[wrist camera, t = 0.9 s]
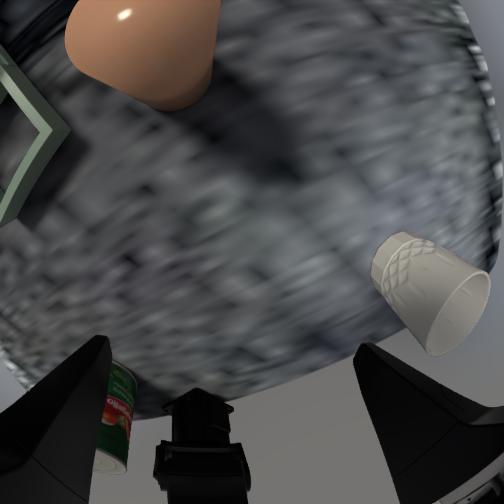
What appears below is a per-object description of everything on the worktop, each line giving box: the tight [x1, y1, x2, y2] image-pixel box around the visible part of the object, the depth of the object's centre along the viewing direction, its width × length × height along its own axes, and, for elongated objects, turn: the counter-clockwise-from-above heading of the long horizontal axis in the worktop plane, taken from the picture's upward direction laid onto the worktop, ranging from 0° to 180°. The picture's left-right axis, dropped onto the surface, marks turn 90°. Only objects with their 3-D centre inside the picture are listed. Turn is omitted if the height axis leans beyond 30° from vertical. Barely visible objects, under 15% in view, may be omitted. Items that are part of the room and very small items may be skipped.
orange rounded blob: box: [65, 0, 221, 111], centre depth 10 cm, size 6×6×11 cm
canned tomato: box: [93, 360, 137, 475], centre depth 20 cm, size 8×8×11 cm
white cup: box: [370, 232, 491, 357], centre depth 20 cm, size 8×8×10 cm
